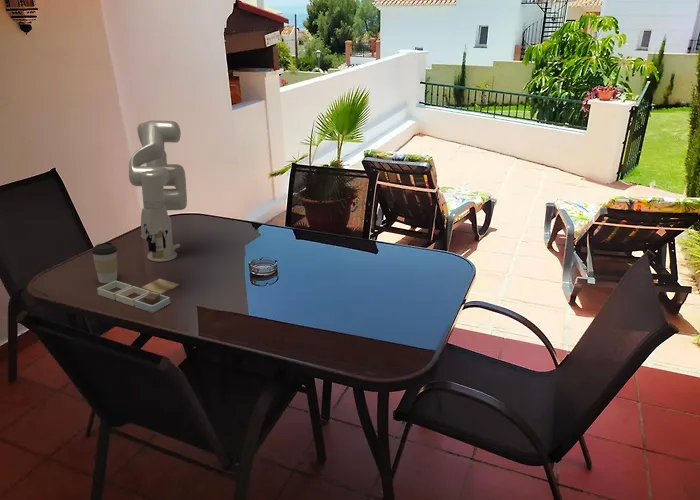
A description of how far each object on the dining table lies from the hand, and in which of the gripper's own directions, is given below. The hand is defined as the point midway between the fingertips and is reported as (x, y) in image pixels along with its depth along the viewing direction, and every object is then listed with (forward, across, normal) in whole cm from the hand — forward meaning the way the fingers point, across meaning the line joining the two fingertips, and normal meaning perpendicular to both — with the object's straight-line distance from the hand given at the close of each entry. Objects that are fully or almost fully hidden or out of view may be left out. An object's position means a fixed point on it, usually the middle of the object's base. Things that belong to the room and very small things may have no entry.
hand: (157, 249), depth 200 cm
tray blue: (+16, +13, +9) cm, 23 cm away
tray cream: (+16, +13, -1) cm, 21 cm away
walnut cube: (+17, +13, +9) cm, 23 cm away
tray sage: (+16, +13, -10) cm, 23 cm away
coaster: (+16, 0, 0) cm, 16 cm away
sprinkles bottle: (+4, 0, 0) cm, 4 cm away
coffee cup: (+16, +6, -22) cm, 28 cm away
